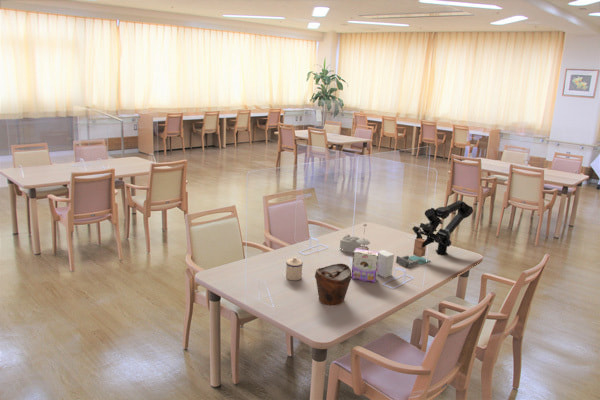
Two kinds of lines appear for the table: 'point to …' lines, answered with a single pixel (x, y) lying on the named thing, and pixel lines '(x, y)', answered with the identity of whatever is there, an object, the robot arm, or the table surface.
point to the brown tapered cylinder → (333, 283)
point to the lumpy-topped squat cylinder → (349, 243)
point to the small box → (385, 263)
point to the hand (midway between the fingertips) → (418, 245)
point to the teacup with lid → (294, 269)
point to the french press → (363, 242)
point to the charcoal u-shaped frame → (404, 261)
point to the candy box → (365, 265)
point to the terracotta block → (419, 247)
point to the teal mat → (421, 259)
